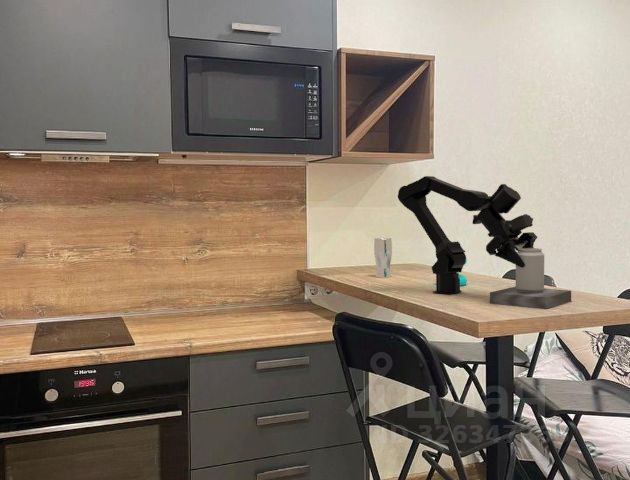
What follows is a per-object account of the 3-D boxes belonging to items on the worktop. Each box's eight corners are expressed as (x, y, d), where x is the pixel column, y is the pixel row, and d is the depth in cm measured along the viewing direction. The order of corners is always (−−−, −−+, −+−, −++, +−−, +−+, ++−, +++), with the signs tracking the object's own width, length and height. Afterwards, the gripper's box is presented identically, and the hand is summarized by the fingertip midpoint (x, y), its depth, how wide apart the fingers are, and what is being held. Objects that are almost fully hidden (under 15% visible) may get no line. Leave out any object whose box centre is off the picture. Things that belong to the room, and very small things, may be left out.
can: (530, 288, 170) (531, 246, 169) (550, 292, 163) (550, 248, 162) (509, 290, 167) (509, 247, 166) (528, 294, 160) (528, 249, 159)
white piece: (396, 276, 231) (395, 238, 230) (382, 278, 227) (381, 239, 226) (384, 275, 237) (383, 237, 236) (370, 276, 233) (370, 238, 232)
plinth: (489, 303, 165) (489, 292, 165) (516, 296, 176) (516, 286, 176) (546, 309, 154) (546, 297, 154) (571, 301, 165) (571, 290, 165)
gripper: (495, 205, 161) (533, 248, 154) (531, 204, 173) (567, 244, 166) (470, 233, 168) (505, 275, 160) (506, 230, 180) (540, 269, 172)
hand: (531, 265), depth 164 cm, fingers closed on can, 7 cm apart
